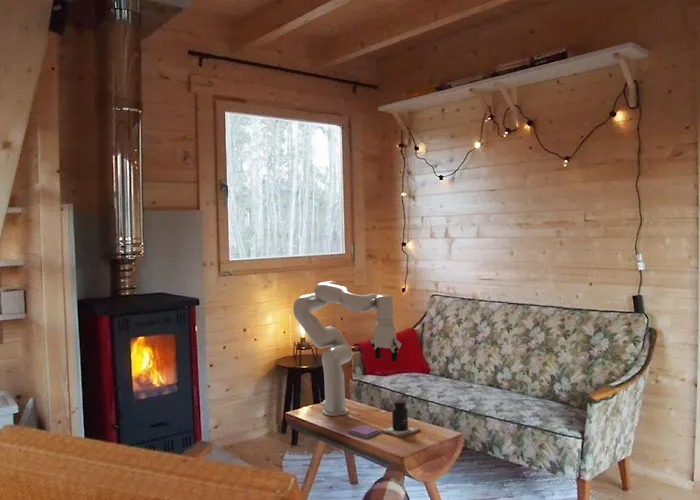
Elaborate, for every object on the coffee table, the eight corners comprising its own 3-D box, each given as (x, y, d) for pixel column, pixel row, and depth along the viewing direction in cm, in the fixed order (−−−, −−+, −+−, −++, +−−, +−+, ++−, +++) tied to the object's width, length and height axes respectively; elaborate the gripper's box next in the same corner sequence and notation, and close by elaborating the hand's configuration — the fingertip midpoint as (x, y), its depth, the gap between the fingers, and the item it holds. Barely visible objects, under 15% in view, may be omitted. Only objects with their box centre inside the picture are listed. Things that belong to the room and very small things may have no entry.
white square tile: (381, 432, 270) (381, 429, 270) (398, 425, 279) (398, 422, 279) (403, 438, 262) (402, 435, 262) (420, 430, 270) (420, 428, 270)
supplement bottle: (407, 431, 266) (406, 404, 266) (391, 431, 268) (390, 403, 267) (409, 426, 273) (408, 399, 272) (393, 425, 274) (392, 399, 274)
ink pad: (347, 433, 270) (347, 429, 270) (361, 428, 276) (361, 424, 276) (366, 439, 262) (366, 435, 262) (380, 433, 269) (380, 429, 269)
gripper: (365, 321, 287) (366, 358, 288) (394, 325, 275) (395, 363, 276) (376, 319, 292) (377, 355, 293) (405, 322, 280) (406, 360, 281)
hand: (386, 359), depth 284 cm, fingers open, 9 cm apart
